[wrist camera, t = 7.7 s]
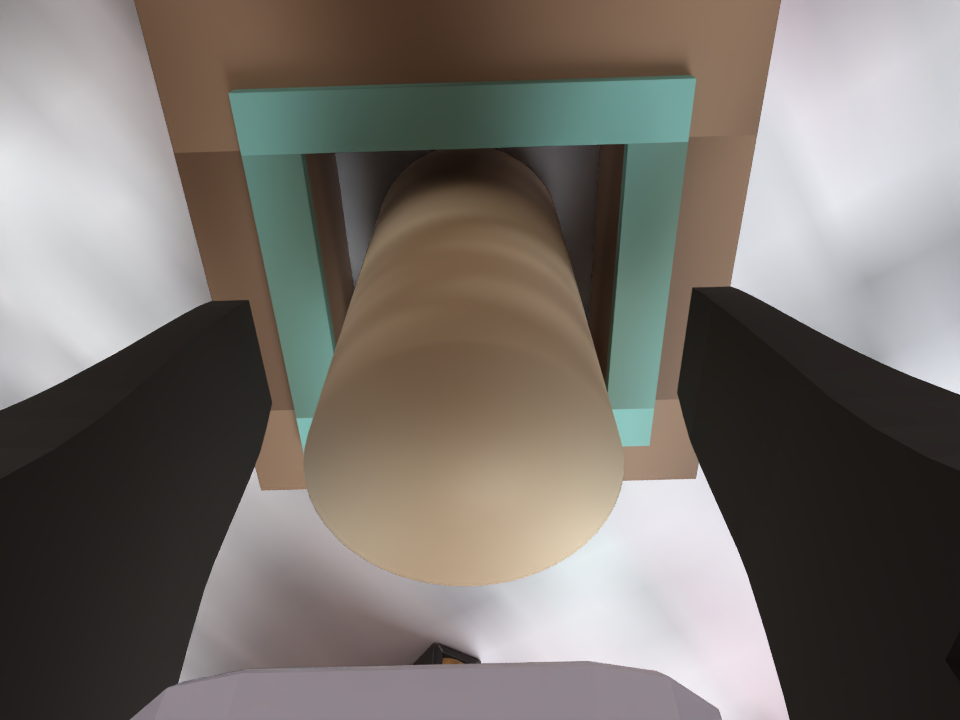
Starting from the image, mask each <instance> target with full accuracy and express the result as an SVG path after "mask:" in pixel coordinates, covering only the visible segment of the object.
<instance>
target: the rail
mask: <svg viewBox="0 0 960 720" xmlns="http://www.w3.org/2000/svg"><path fill="white" fill-rule="evenodd" d="M134 1H135V5H136V9H137V13H138V16H139V20H140V24H141V28H142V32H143V36H144V40H145V43H146V47H147V51H148V55H149V59H150V63H151V67H152V70H153V74H154V78H155V82H156V86H157V90H158V94H159V97H160V101H161V105H162V109H163V113H164V117H165V121H166V124H167V128H168V132H169V136H170V140H171V144H172V148H173V151H174V155H175V159H176V163H177V167H178V171H179V175H180V178H181V182H182V186H183V190H184V194H185V198H186V202H187V205H188V209H189V213H190V217H191V221H192V225H193V229H194V232H195V236H196V240H197V244H198V248H199V252H200V256H201V259H202V263H203V267H204V271H205V275H206V279H207V283H208V286H209V290H210V294H211V298H212V301H229V300H249V303H250V307H251V312H252V316H253V320H254V325H255V329H256V334H257V338H258V342H259V347H260V351H261V355H262V360H263V364H264V369H265V373H266V377H267V382H268V386H269V391H270V395H271V399H272V406H271V411H270V415H269V420H268V424H267V428H266V432H265V436H264V440H263V444H262V448H261V451H260V454H259V457H258V459H257V462H256V464H255V468H256V472H257V475H258V479H259V483H260V487H261V490H291V489H307V487H306V483H305V476H304V468H303V462H304V448H305V444H306V440H307V436H308V432H309V429H310V426H311V423H312V420H313V416H314V413H315V410H316V407H317V404H318V401H319V398H320V395H321V392H322V389H323V386H324V382H325V379H326V376H327V373H328V370H329V367H330V364H331V361H332V358H333V355H334V352H335V348H336V345H337V342H338V339H339V336H340V333H341V330H342V327H343V324H344V321H345V318H346V314H347V311H348V308H349V305H350V302H351V299H352V296H353V293H354V287H353V280H352V273H351V266H350V258H349V251H348V244H347V237H346V229H345V222H344V215H343V208H342V200H341V193H340V186H339V178H338V171H337V164H336V157H335V153H344V152H376V151H408V150H441V149H473V148H505V147H538V146H570V145H600V152H599V168H598V185H597V201H596V217H595V233H594V250H593V266H592V282H591V298H590V314H589V330H590V333H591V337H592V340H593V344H594V347H595V351H596V354H597V358H598V361H599V365H600V368H601V372H602V375H603V379H604V383H605V386H606V390H607V393H608V397H609V400H610V404H611V407H612V411H613V414H614V418H615V421H616V425H617V428H618V432H619V435H620V439H621V442H622V449H623V456H624V475H623V480H622V481H627V480H664V479H696V475H697V469H698V464H699V461H698V459H697V457H696V454H695V452H694V449H693V447H692V445H691V442H690V439H689V436H688V432H687V429H686V425H685V422H684V418H683V414H682V410H681V406H680V402H679V398H678V394H677V389H678V382H679V375H680V368H681V361H682V355H683V348H684V341H685V334H686V327H687V320H688V314H689V307H690V300H691V293H692V287H728V286H730V284H731V278H732V273H733V267H734V261H735V256H736V250H737V245H738V239H739V233H740V228H741V222H742V217H743V211H744V205H745V200H746V194H747V188H748V183H749V177H750V172H751V166H752V160H753V155H754V149H755V144H756V138H757V132H758V127H759V121H760V115H761V110H762V104H763V99H764V93H765V87H766V82H767V76H768V71H769V65H770V59H771V54H772V48H773V42H774V37H775V31H776V26H777V20H778V14H779V9H780V3H781V0H134Z"/></svg>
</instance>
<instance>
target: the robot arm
mask: <svg viewBox="0 0 960 720" xmlns="http://www.w3.org/2000/svg"><path fill="white" fill-rule="evenodd" d="M677 394H678V398H679V402H680V406H681V410H682V414H683V418H684V422H685V425H686V429H687V432H688V436H689V439H690V442H691V445H692V447H693V449H694V452H695V454H696V457H697V459H698V461H699V463H700V466H701V468H702V470H703V473H704V475H705V477H706V480H707V482H708V484H709V486H710V488H711V491H712V493H713V495H714V497H715V500H716V502H717V504H718V506H719V509H720V511H721V513H722V515H723V518H724V520H725V522H726V524H727V527H728V529H729V531H730V533H731V536H732V538H733V540H734V542H735V545H736V547H737V549H738V552H739V554H740V557H741V559H742V562H743V564H744V567H745V570H746V572H747V575H748V578H749V581H750V584H751V587H752V591H753V594H754V597H755V600H756V603H757V607H758V610H759V613H760V616H761V619H762V623H763V626H764V629H765V632H766V636H767V639H768V643H769V646H770V650H771V653H772V657H773V660H774V664H775V667H776V671H777V674H778V678H779V681H780V685H781V688H782V692H783V696H784V699H785V703H786V707H787V711H788V715H789V719H790V720H960V395H959V394H956V393H954V392H951V391H948V390H946V389H943V388H941V387H938V386H936V385H933V384H930V383H928V382H925V381H923V380H920V379H917V378H915V377H912V376H910V375H907V374H905V373H903V372H900V371H898V370H896V369H893V368H891V367H889V366H887V365H884V364H882V363H880V362H878V361H876V360H874V359H872V358H870V357H867V356H865V355H863V354H861V353H859V352H857V351H855V350H853V349H851V348H849V347H847V346H845V345H843V344H841V343H839V342H837V341H835V340H833V339H831V338H829V337H827V336H825V335H823V334H821V333H820V332H818V331H816V330H814V329H812V328H810V327H808V326H807V325H805V324H803V323H801V322H799V321H797V320H796V319H794V318H792V317H790V316H788V315H787V314H785V313H783V312H781V311H779V310H777V309H776V308H774V307H772V306H770V305H768V304H767V303H765V302H763V301H761V300H759V299H757V298H755V297H753V296H751V295H749V294H747V293H745V292H743V291H741V290H739V289H736V288H733V287H730V286H728V287H692V293H691V300H690V307H689V314H688V320H687V327H686V334H685V341H684V348H683V355H682V361H681V368H680V375H679V382H678V389H677ZM271 406H272V399H271V395H270V391H269V386H268V382H267V377H266V373H265V369H264V364H263V360H262V355H261V351H260V347H259V342H258V338H257V334H256V329H255V325H254V320H253V316H252V312H251V307H250V303H249V300H229V301H210V302H208V303H205V304H203V305H201V306H199V307H196V308H194V309H193V310H191V311H189V312H187V313H185V314H183V315H181V316H180V317H178V318H176V319H174V320H173V321H171V322H169V323H167V324H166V325H164V326H162V327H160V328H159V329H157V330H155V331H154V332H152V333H150V334H148V335H147V336H145V337H143V338H142V339H140V340H138V341H136V342H135V343H133V344H131V345H130V346H128V347H126V348H124V349H123V350H121V351H119V352H117V353H116V354H114V355H112V356H110V357H108V358H106V359H105V360H103V361H101V362H99V363H97V364H95V365H93V366H91V367H90V368H88V369H86V370H84V371H82V372H80V373H78V374H77V375H75V376H73V377H71V378H69V379H67V380H65V381H63V382H62V383H60V384H58V385H56V386H54V387H51V388H49V389H47V390H45V391H43V392H41V393H39V394H37V395H35V396H33V397H30V398H28V399H26V400H24V401H21V402H19V403H17V404H15V405H12V406H10V407H8V408H5V409H3V410H1V411H0V720H722V719H721V715H720V712H719V709H717V708H716V707H714V706H713V705H711V704H710V703H708V702H707V701H705V700H704V699H702V698H701V697H699V696H698V695H696V694H695V693H693V692H692V691H690V690H689V689H687V688H685V687H684V686H682V685H681V684H679V683H678V682H676V681H675V680H673V679H672V678H670V677H669V676H666V675H664V674H662V673H660V672H657V671H653V670H646V669H639V668H632V667H625V666H618V665H611V664H604V663H598V662H591V661H572V662H527V663H483V664H438V665H393V666H349V667H304V668H260V669H245V670H240V671H235V672H230V673H225V674H220V675H215V676H209V677H204V678H199V679H194V680H189V681H184V682H181V683H179V684H178V682H179V678H180V674H181V670H182V666H183V663H184V659H185V655H186V651H187V647H188V644H189V640H190V637H191V633H192V630H193V627H194V623H195V620H196V616H197V613H198V610H199V606H200V603H201V599H202V596H203V592H204V589H205V586H206V583H207V581H208V578H209V575H210V573H211V570H212V567H213V564H214V562H215V559H216V557H217V555H218V552H219V550H220V548H221V545H222V543H223V540H224V538H225V536H226V533H227V531H228V529H229V526H230V524H231V522H232V519H233V517H234V515H235V512H236V510H237V508H238V505H239V503H240V500H241V498H242V496H243V493H244V491H245V489H246V486H247V484H248V481H249V479H250V476H251V474H252V472H253V469H254V467H255V464H256V462H257V459H258V457H259V454H260V451H261V448H262V444H263V440H264V436H265V432H266V428H267V424H268V420H269V415H270V411H271Z"/></svg>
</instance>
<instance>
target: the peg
mask: <svg viewBox="0 0 960 720" xmlns="http://www.w3.org/2000/svg"><path fill="white" fill-rule="evenodd" d="M303 468H304V476H305V483H306V487H307V490H308V493H309V497H310V499H311V501H312V503H313V506H314V508H315V510H316V512H317V513H318V515H319V516H320V518H321V519H322V521H323V522H324V524H325V525H326V527H327V528H328V529H329V530H330V531H331V532H332V533H333V534H334V536H335V537H336V538H337V539H338V540H339V541H341V542H342V543H343V544H344V545H345V546H346V547H347V548H349V549H350V550H351V551H353V552H354V553H356V554H357V555H359V556H360V557H361V558H363V559H364V560H366V561H368V562H370V563H372V564H374V565H376V566H377V567H379V568H382V569H384V570H386V571H389V572H391V573H394V574H396V575H399V576H403V577H406V578H409V579H412V580H417V581H422V582H426V583H431V584H440V585H448V586H479V585H490V584H497V583H503V582H508V581H512V580H516V579H520V578H524V577H527V576H529V575H532V574H535V573H538V572H541V571H543V570H545V569H547V568H549V567H551V566H553V565H555V564H557V563H559V562H561V561H562V560H564V559H566V558H567V557H569V556H570V555H572V554H573V553H575V552H576V551H577V550H578V549H580V548H581V547H582V546H584V545H585V544H586V543H587V542H588V541H589V540H590V539H591V538H592V537H593V536H594V535H595V534H596V533H597V532H598V530H599V529H600V528H601V527H602V525H603V524H604V523H605V521H606V520H607V518H608V517H609V515H610V513H611V511H612V510H613V508H614V506H615V504H616V501H617V498H618V496H619V493H620V490H621V485H622V480H623V475H624V456H623V449H622V442H621V439H620V435H619V432H618V428H617V425H616V421H615V418H614V414H613V411H612V407H611V404H610V400H609V397H608V393H607V390H606V386H605V383H604V379H603V375H602V372H601V368H600V365H599V361H598V358H597V354H596V351H595V347H594V344H593V340H592V337H591V333H590V330H589V326H588V323H587V319H586V316H585V312H584V308H583V305H582V301H581V298H580V294H579V291H578V287H577V284H576V280H575V277H574V273H573V270H572V266H571V263H570V259H569V256H568V252H567V248H566V245H565V241H564V238H563V234H562V231H561V227H560V224H559V220H558V217H557V213H556V210H555V207H554V204H553V201H552V199H551V196H550V194H549V192H548V190H547V189H546V187H545V186H544V184H543V183H542V181H541V180H540V179H539V178H538V176H537V175H536V174H535V173H534V172H533V171H532V170H531V169H530V168H528V167H527V166H526V165H525V164H524V163H522V162H521V161H519V160H518V159H516V158H514V157H513V156H511V155H508V154H506V153H504V152H502V151H499V150H496V149H492V148H473V149H441V150H437V151H434V152H431V153H429V154H427V155H425V156H423V157H421V158H419V159H418V160H416V161H415V162H414V163H412V164H411V165H409V166H408V167H407V168H406V169H405V170H404V171H403V172H402V173H401V174H400V175H399V176H398V177H397V179H396V180H395V181H394V182H393V184H392V185H391V187H390V189H389V190H388V192H387V194H386V196H385V199H384V201H383V204H382V206H381V209H380V212H379V216H378V219H377V222H376V225H375V228H374V231H373V234H372V237H371V240H370V243H369V246H368V250H367V253H366V256H365V259H364V262H363V265H362V268H361V271H360V274H359V277H358V280H357V284H356V287H355V290H354V293H353V296H352V299H351V302H350V305H349V308H348V311H347V314H346V318H345V321H344V324H343V327H342V330H341V333H340V336H339V339H338V342H337V345H336V348H335V352H334V355H333V358H332V361H331V364H330V367H329V370H328V373H327V376H326V379H325V382H324V386H323V389H322V392H321V395H320V398H319V401H318V404H317V407H316V410H315V413H314V416H313V420H312V423H311V426H310V429H309V432H308V436H307V440H306V444H305V448H304V462H303Z"/></svg>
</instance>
